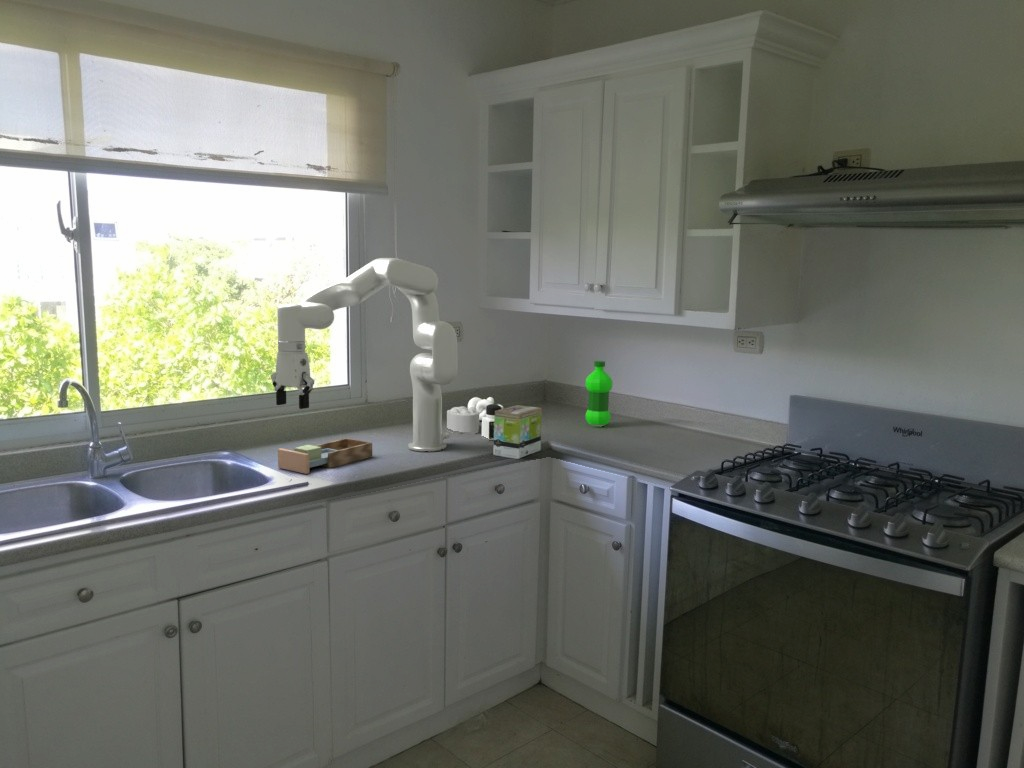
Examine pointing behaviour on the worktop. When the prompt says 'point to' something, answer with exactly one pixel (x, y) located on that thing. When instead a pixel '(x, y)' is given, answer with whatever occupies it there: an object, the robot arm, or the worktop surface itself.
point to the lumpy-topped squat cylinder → (463, 419)
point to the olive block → (310, 451)
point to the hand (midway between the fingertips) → (292, 406)
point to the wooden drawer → (300, 460)
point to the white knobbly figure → (480, 405)
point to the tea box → (517, 431)
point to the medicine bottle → (489, 420)
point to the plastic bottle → (598, 395)
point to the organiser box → (346, 451)
